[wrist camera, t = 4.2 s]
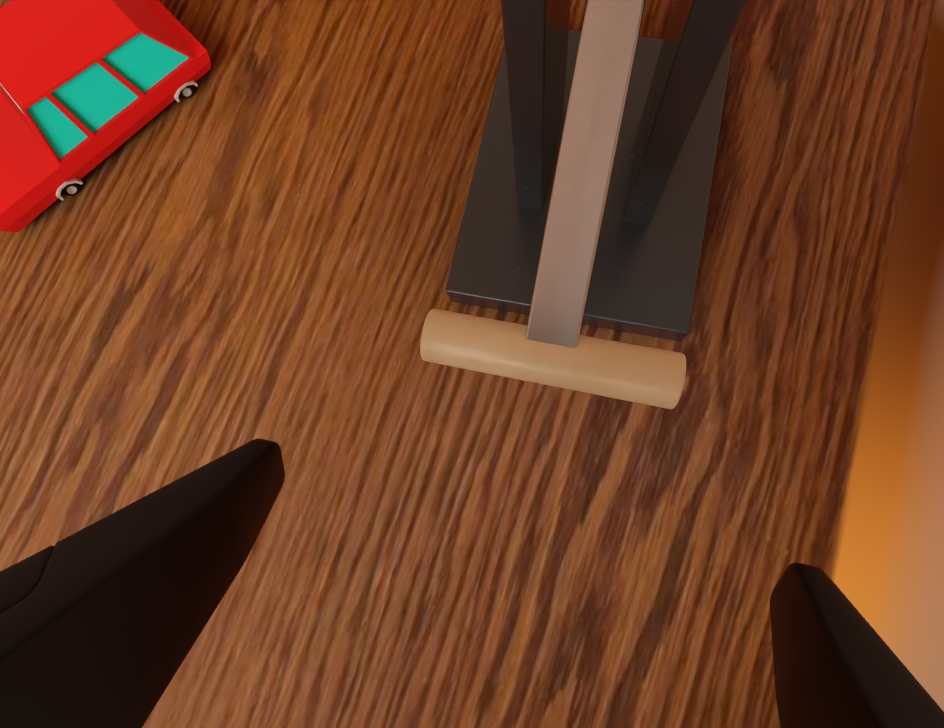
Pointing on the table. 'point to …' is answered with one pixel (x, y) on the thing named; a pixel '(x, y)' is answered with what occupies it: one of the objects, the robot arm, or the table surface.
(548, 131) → the bracket
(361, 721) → the table surface
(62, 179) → the toy car
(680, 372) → the lever
